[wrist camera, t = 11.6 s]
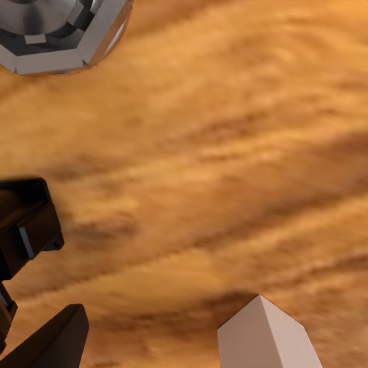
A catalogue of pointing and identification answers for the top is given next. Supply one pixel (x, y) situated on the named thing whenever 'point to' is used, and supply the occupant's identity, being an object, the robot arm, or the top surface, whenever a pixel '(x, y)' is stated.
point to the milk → (264, 339)
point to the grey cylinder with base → (44, 20)
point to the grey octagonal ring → (70, 44)
